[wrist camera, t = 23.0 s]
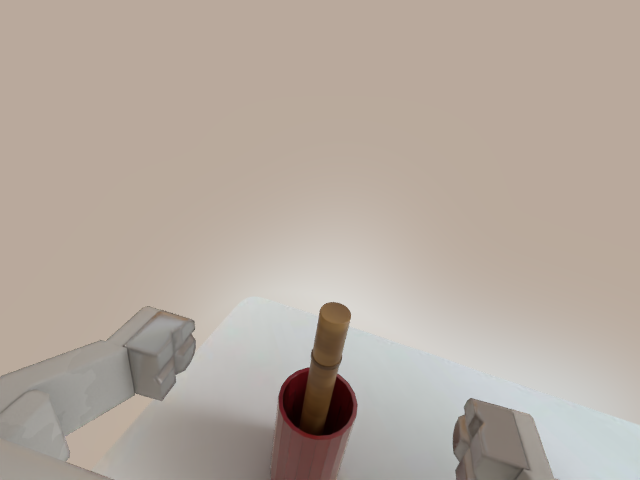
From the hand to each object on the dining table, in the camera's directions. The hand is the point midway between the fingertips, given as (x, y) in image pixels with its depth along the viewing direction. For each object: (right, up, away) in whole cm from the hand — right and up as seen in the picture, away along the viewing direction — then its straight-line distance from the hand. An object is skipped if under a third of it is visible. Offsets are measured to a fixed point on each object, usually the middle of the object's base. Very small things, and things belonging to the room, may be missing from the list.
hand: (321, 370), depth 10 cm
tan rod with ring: (-2, -19, +25) cm, 32 cm away
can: (-2, -20, +26) cm, 32 cm away
